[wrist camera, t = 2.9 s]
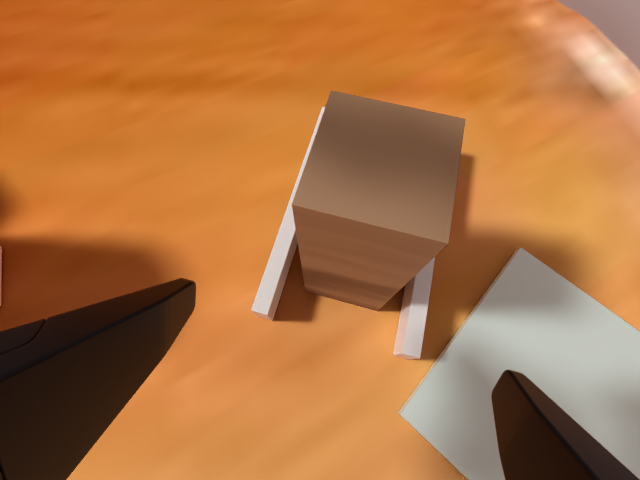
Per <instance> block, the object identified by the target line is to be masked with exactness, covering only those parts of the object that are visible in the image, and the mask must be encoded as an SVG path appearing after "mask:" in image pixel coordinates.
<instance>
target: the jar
mask: <svg viewBox="0 0 640 480" xmlns="http://www.w3.org/2000/svg"><path fill="white" fill-rule="evenodd" d="M1 287H2V247H1V246H0V306H1Z"/></svg>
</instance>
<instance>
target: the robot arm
mask: <svg viewBox="0 0 640 480" xmlns="http://www.w3.org/2000/svg"><path fill="white" fill-rule="evenodd" d="M195 297H196V284H195V282H194V281H191V280H187V279H184V278H180V279H177V280H173V281H170V282H167V283H163V284H160V285H156V286H153V287H150V288H146V289H143V290H140V291H136V292H133V293H130V294H126V295H123V296H119V297H116V298H113V299H109V300H106V301H103V302H99V303H96V304H93V305H89V306H86V307H82V308H79V309H76V310H72V311H69V312H66V313H62V314H59V315H56V316H52V317H49V318H47V320H46V319H42V320H39V321H35V322H32V323H29V324H25V325H22V326H18V327H15V328H11V329H8V330H4V331H1V332H0V480H66V479H67V478H68V477H69V476H70V474H71V473H72V472H73V470H74V469H75V468H76V467H77V465H78V464H79V463H80V462H81V460H82V459H83V458H84V457H85V455H86V454H87V453H88V452H89V450H90V449H91V448H92V447H93V445H94V444H95V443H96V442H97V440H98V439H99V438H100V437H101V435H102V434H103V433H104V432H105V430H106V429H107V428H108V426H109V425H110V424H111V423H112V421H113V420H114V419H115V418H116V416H117V415H118V414H119V413H120V411H121V410H122V409H123V408H124V406H125V405H126V404H127V403H128V401H129V400H130V399H131V398H132V396H133V395H134V394H135V393H136V391H137V390H138V389H139V388H140V386H141V385H142V384H143V382H144V381H145V380H146V379H147V377H148V376H149V375H150V374H151V372H152V371H153V370H154V369H155V367H156V366H157V365H158V364H159V362H160V361H161V360H162V358H163V357H164V356H165V354H166V353H167V351H168V350H169V349H170V347H171V345H172V344H173V342H174V341H175V339H176V338H177V336H178V334H179V333H180V331H181V330H182V328H183V327H184V325H185V323H186V322H187V320H188V319H189V317H190V315H191V314H192V312H193V310H194V307H195ZM491 400H492V407H493V414H494V421H495V428H496V435H497V442H498V449H499V455H500V460H501V464H502V468H503V472H504V476H505V480H640V479H639V478H638V477H636V476H635V475H634V474H633V473H632V472H631V471H630V470H629V469H628V468H627V467H625V466H624V465H623V464H622V463H621V462H620V461H619V460H618V459H617V458H616V457H614V456H613V455H612V454H611V453H610V452H609V451H608V450H607V449H606V448H605V447H603V446H602V445H601V444H600V443H599V442H598V441H597V440H596V439H595V438H594V437H592V436H591V435H590V434H589V433H588V432H587V431H586V430H585V429H584V428H582V427H581V426H580V425H579V424H578V423H577V422H576V421H575V420H574V419H573V418H571V417H570V416H569V415H568V414H567V413H566V412H565V411H564V410H563V409H562V408H560V407H559V406H558V405H557V404H556V403H555V402H554V401H553V400H552V399H551V398H549V397H548V396H547V395H546V394H545V393H544V392H543V391H542V390H541V389H540V388H538V387H537V386H536V385H535V384H534V383H533V382H532V381H531V380H530V379H529V378H527V377H526V376H525V375H524V374H522V373H520V372H516V371H512V370H505V371H504V372H503V373H502V375H501V376H500V378H499V380H498V382H497V383H496V385H495V387H494V388H493V390H492V395H491Z"/></svg>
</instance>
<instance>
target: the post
mask: <svg viewBox="0 0 640 480" xmlns="http://www.w3.org/2000/svg"><path fill="white" fill-rule="evenodd" d="M464 126H465V119H463V118H458V117H454V116H449V115H444V114H440V113H435V112H430V111H425V110H421V109H416V108H411V107H407V106H402V105H397V104H392V103H388V102H383V101H378V100H374V99H369V98H364V97H359V96H355V95H350V94H345V93H341V92H336V91H331V92H330V95H329V98H328V101H327V104H326V107H325V110H324V113H323V116H322V118H321V121H320V124H319V127H318V130H317V133H316V136H315V139H314V142H313V144H312V147H311V150H310V153H309V156H308V159H307V162H306V165H305V168H304V170H303V173H302V176H301V179H300V182H299V185H298V188H297V191H296V194H295V196H294V199H293V202H292V210H293V216H294V222H295V229H296V235H297V241H298V247H299V254H300V260H301V266H302V272H303V279H304V285H305V291H306V292H310V293H313V294H317V295H321V296H324V297H328V298H332V299H335V300H339V301H343V302H346V303H350V304H354V305H357V306H361V307H365V308H368V309H372V310H375V311H378V310H379V309H380V308H381V307H382V306H383V305H385V304H386V303H387V302H388V301H389V300H390V299H391V298H392V297H393V296H394V295H395V294H396V293H397V292H398V291H399V290H400V289H401V288H402V287H404V286H405V285H406V284H407V283H408V282H409V281H410V280H411V279H412V278H413V277H414V276H415V275H416V274H417V273H418V272H419V271H420V270H421V269H422V268H424V267H425V266H426V265H427V264H428V263H429V262H430V261H431V260H432V259H433V258H434V257H435V256H436V255H437V254H438V253H439V252H440V251H441V250H442V249H444V248H445V247H446V246H447V245H448V244H449V236H450V229H451V222H452V214H453V207H454V199H455V192H456V185H457V177H458V170H459V163H460V155H461V148H462V140H463V133H464Z"/></svg>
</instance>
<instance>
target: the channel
mask: <svg viewBox="0 0 640 480" xmlns="http://www.w3.org/2000/svg"><path fill="white" fill-rule="evenodd" d="M324 110H325V107H322V109H321V112H320V115H319V118H318V121H317V124H316V127H315V129H314V132H313V135H312V138H311V141H310V144H309V146H308V149H307V152H306V155H305V158H304V161H303V164H302V166H301V169H300V172H299V175H298V178H297V181H296V184H295V186H294V189H293V192H292V195H291V198H290V201H289V204H288V206H287V209H286V212H285V215H284V218H283V221H282V223H281V226H280V229H279V232H278V235H277V238H276V241H275V243H274V246H273V249H272V252H271V255H270V258H269V261H268V263H267V266H266V269H265V272H264V275H263V278H262V281H261V283H260V286H259V289H258V292H257V295H256V298H255V300H254V303H253V306H252V309H251V311H252V312H253V313H255V314H256V315H257V316H258V317H261V318H265V319H268V320H272V321H273V318H274V315H275V312H276V309H277V306H278V303H279V300H280V297H281V294H282V290H283V287H284V284H285V281H286V278H287V275H288V272H289V269H290V266H291V263H292V259H293V256H294V253H295V250H296V247H297V244H298V241H297V235H296V229H295V222H294V216H293V210H292V202H293V199H294V196H295V194H296V191H297V188H298V185H299V182H300V179H301V176H302V173H303V170H304V168H305V165H306V162H307V159H308V156H309V153H310V150H311V147H312V144H313V142H314V139H315V136H316V133H317V130H318V127H319V124H320V121H321V118H322V116H323V113H324ZM434 262H435V257H434V258H433V259H432V260H431V261H430V262H429V263H428V264H427V265H426V266H425V267H424V268H422V269H421V270H420V271H419V272H418V273H417V274H416V275H415V276H414V277H413V278H412V279H411V280H410V281H409V282H408V283H407V284H406V285H405V290H404V295H403V301H402V306H401V312H400V318H399V323H398V329H397V334H396V340H395V345H394V351H393V355H394V356H398V357H401V358H405V359H408V360H409V359H420V356H421V349H422V343H423V336H424V329H425V323H426V316H427V309H428V303H429V296H430V289H431V282H432V276H433V269H434Z"/></svg>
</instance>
